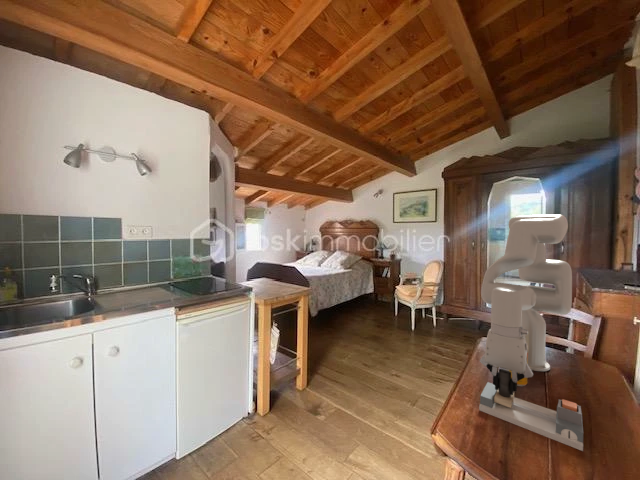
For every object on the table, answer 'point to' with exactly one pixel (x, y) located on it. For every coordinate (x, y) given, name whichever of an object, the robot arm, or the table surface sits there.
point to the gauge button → (569, 405)
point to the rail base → (537, 418)
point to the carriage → (504, 389)
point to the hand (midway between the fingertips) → (504, 389)
